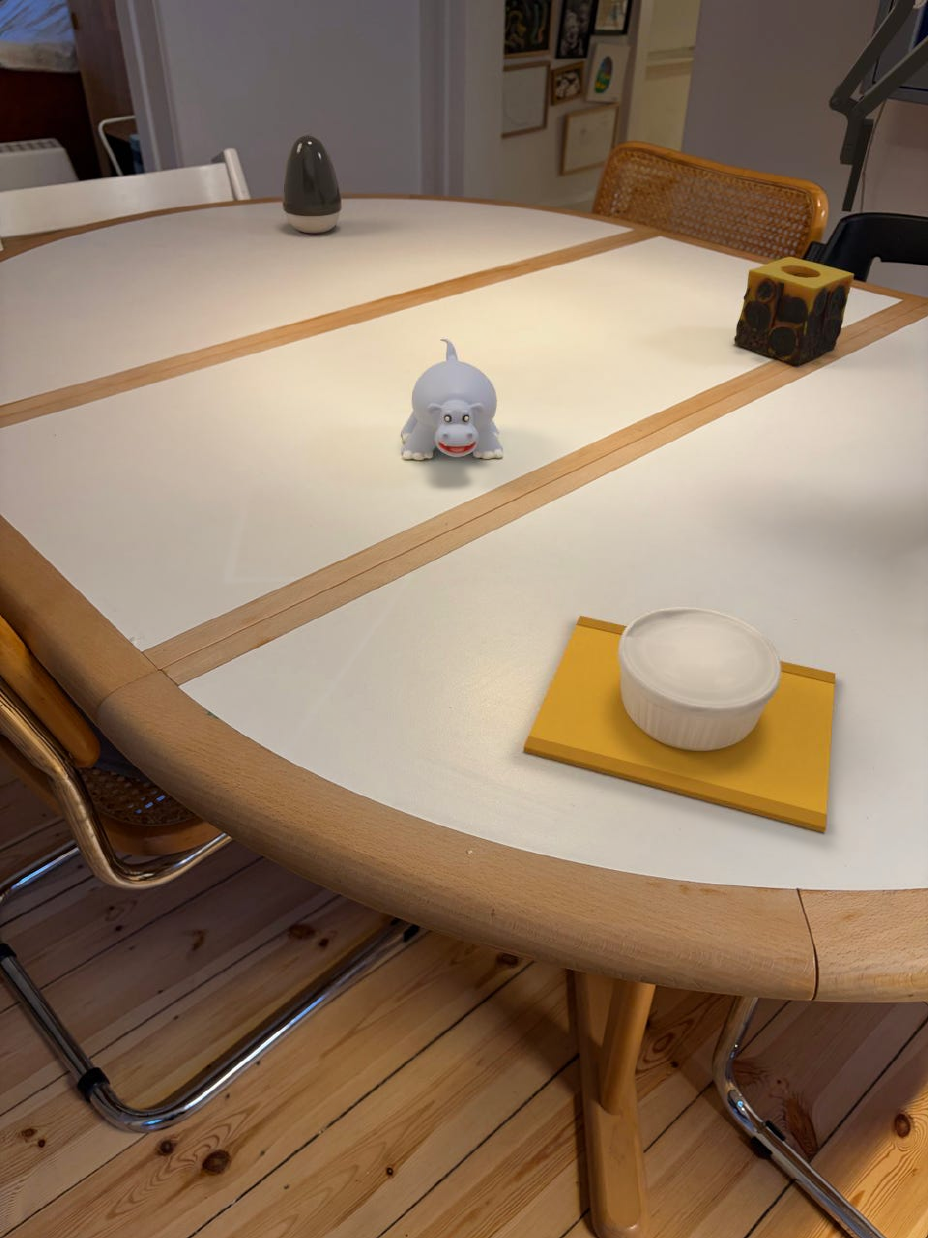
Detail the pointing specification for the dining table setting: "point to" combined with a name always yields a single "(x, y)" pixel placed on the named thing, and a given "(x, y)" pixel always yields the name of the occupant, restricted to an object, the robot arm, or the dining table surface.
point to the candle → (793, 309)
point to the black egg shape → (310, 187)
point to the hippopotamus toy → (452, 412)
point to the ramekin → (696, 676)
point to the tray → (731, 776)
